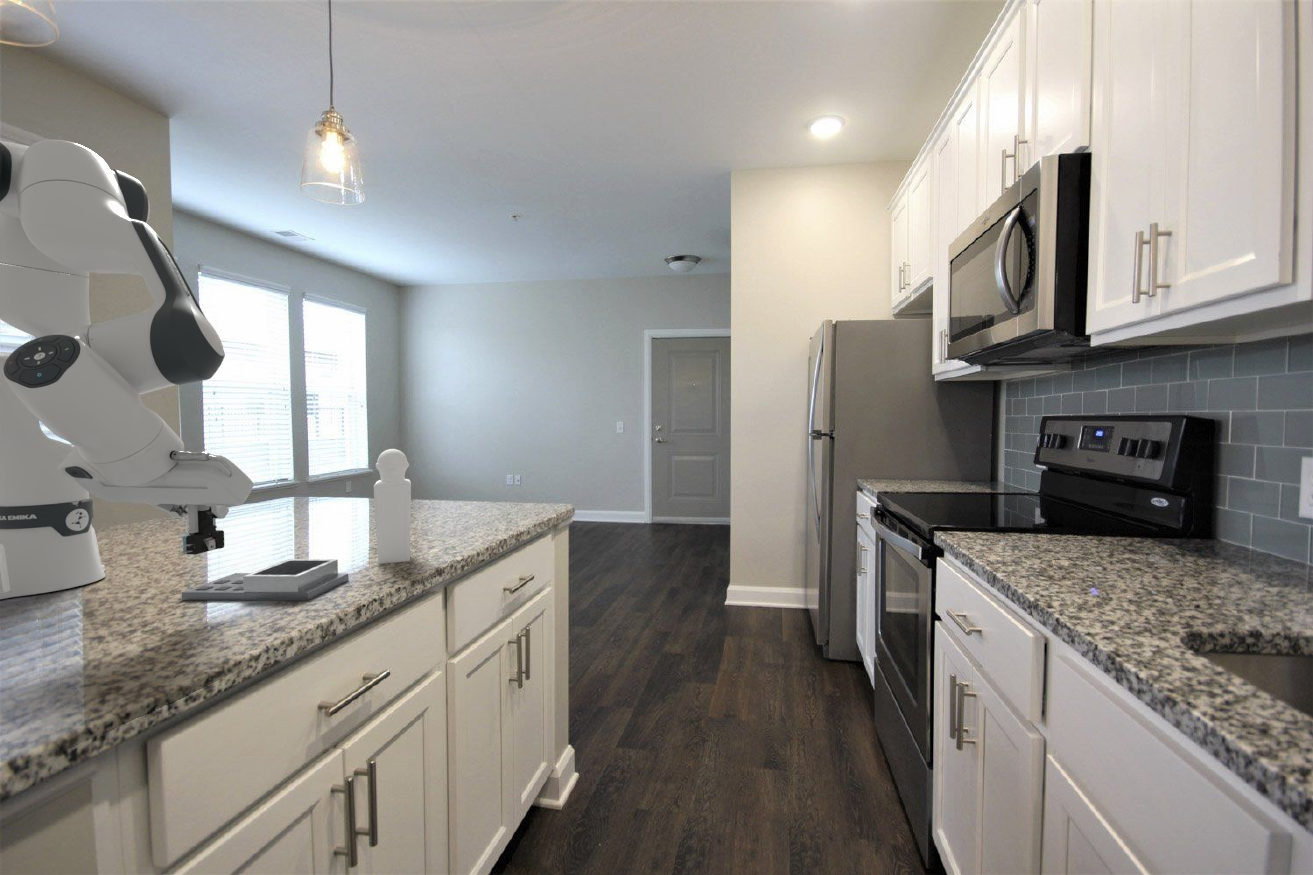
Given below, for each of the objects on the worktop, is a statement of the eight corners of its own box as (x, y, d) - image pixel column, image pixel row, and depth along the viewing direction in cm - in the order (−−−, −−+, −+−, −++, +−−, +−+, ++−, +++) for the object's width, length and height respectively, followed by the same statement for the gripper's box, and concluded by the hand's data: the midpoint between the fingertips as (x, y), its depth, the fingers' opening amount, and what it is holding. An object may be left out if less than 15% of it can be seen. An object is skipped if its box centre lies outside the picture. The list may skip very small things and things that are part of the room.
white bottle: (412, 561, 113) (409, 449, 112) (375, 565, 110) (372, 450, 109) (412, 554, 119) (410, 447, 118) (377, 557, 116) (374, 448, 115)
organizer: (181, 599, 90) (181, 576, 89) (235, 579, 101) (234, 558, 100) (308, 600, 89) (307, 576, 89) (348, 580, 100) (347, 559, 100)
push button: (194, 558, 80) (192, 486, 80) (160, 557, 81) (158, 486, 80) (235, 547, 87) (233, 481, 86) (203, 546, 87) (201, 480, 87)
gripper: (230, 435, 76) (281, 498, 86) (79, 432, 76) (148, 495, 87) (203, 472, 72) (260, 534, 82) (43, 469, 72) (120, 530, 82)
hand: (201, 514), depth 84 cm, fingers closed on push button, 5 cm apart
